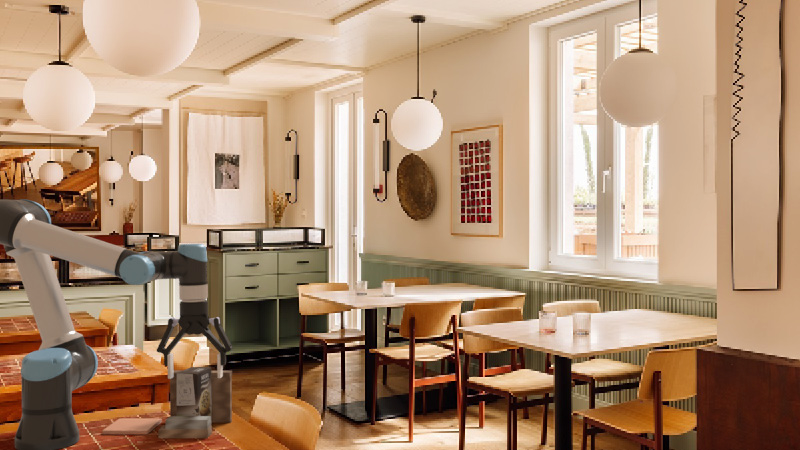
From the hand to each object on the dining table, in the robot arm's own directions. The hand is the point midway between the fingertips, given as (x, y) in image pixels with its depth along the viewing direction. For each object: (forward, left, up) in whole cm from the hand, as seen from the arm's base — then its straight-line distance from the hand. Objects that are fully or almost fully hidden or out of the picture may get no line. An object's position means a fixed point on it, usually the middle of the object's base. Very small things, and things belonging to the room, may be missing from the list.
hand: (195, 377), depth 212 cm
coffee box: (0, 0, -14) cm, 14 cm away
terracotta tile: (-17, 0, -14) cm, 22 cm away
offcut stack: (-1, -7, -14) cm, 16 cm away
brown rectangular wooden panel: (0, +7, -14) cm, 15 cm away
